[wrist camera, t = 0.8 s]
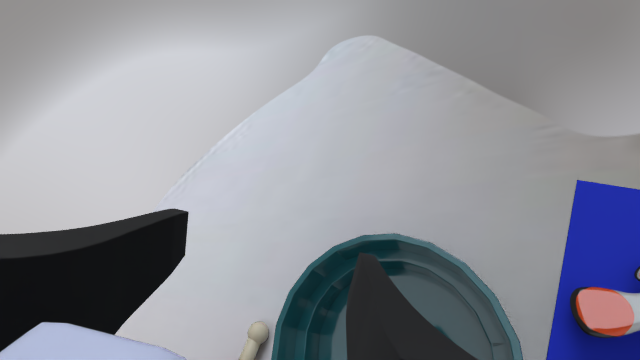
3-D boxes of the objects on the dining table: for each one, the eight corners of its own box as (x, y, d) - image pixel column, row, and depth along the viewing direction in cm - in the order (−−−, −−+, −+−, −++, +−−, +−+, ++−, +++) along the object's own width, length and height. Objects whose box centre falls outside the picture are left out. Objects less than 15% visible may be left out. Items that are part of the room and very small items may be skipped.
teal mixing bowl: (493, 563, 17) (500, 633, 12) (278, 413, 24) (235, 424, 20) (531, 289, 22) (545, 270, 17) (343, 236, 29) (319, 214, 25)
